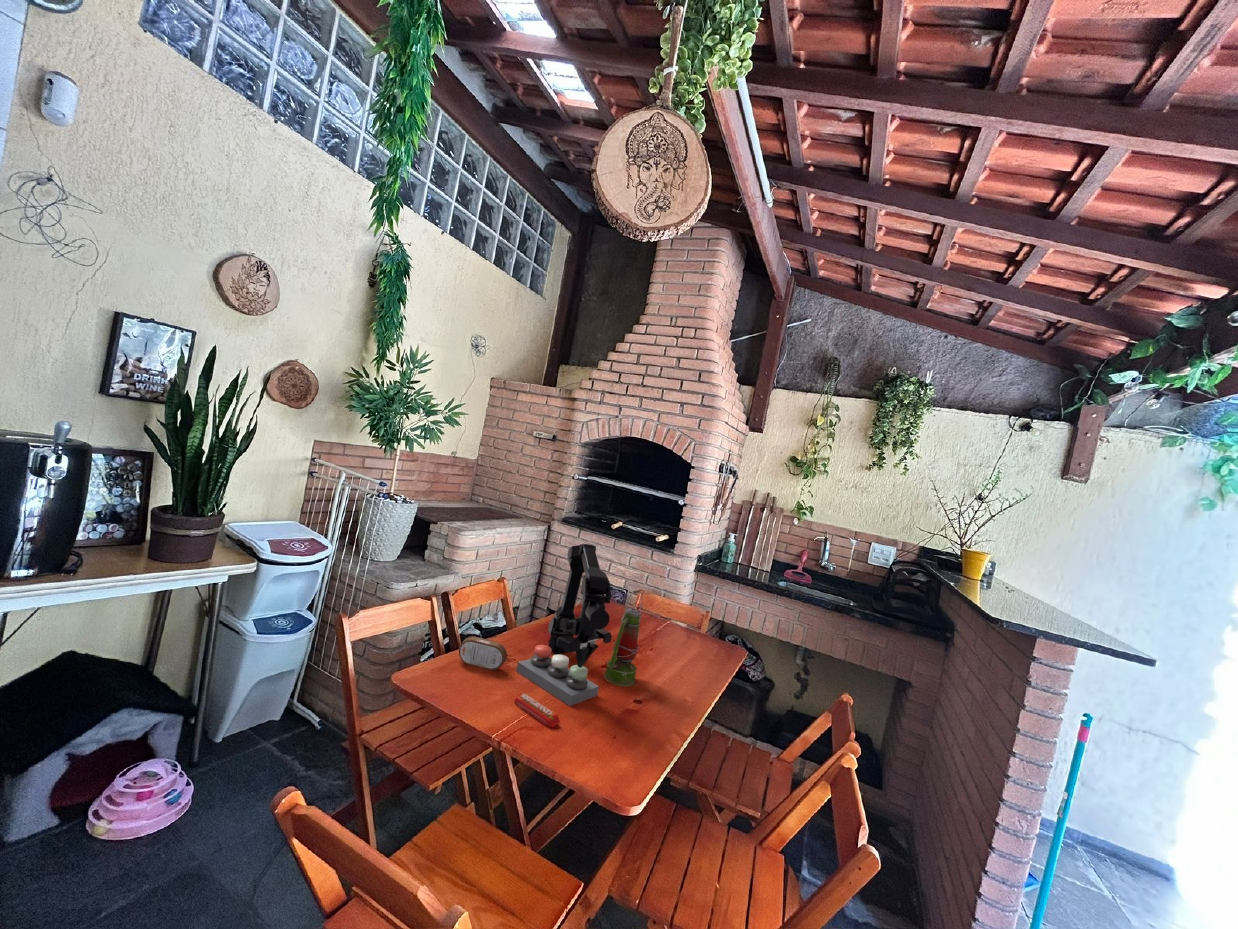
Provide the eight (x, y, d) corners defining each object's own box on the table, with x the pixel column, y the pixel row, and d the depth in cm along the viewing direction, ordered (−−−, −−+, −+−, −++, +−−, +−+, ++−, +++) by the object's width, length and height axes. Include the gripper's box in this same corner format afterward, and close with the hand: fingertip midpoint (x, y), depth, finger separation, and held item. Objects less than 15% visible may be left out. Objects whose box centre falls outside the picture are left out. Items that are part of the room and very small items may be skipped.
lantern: (619, 690, 165) (637, 598, 164) (594, 676, 172) (611, 587, 171) (644, 680, 176) (661, 593, 175) (619, 667, 183) (636, 584, 182)
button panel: (544, 663, 174) (546, 650, 174) (597, 695, 159) (600, 681, 159) (516, 671, 165) (518, 657, 164) (569, 706, 150) (572, 691, 149)
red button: (542, 649, 170) (543, 643, 170) (553, 656, 167) (554, 650, 167) (530, 652, 166) (532, 646, 166) (541, 659, 163) (543, 653, 163)
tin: (504, 670, 164) (509, 644, 164) (501, 674, 161) (506, 647, 161) (459, 659, 166) (464, 633, 165) (455, 662, 162) (460, 636, 162)
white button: (559, 659, 165) (560, 653, 165) (571, 666, 162) (572, 660, 162) (547, 662, 161) (549, 656, 161) (559, 669, 158) (560, 663, 158)
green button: (577, 670, 160) (579, 663, 160) (590, 677, 157) (591, 670, 157) (566, 673, 156) (567, 667, 156) (578, 681, 153) (579, 674, 153)
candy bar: (511, 703, 145) (513, 693, 145) (521, 700, 148) (523, 689, 148) (550, 731, 136) (553, 720, 135) (560, 727, 138) (562, 716, 138)
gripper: (590, 603, 168) (581, 650, 169) (548, 610, 154) (538, 662, 154) (616, 616, 162) (607, 665, 162) (575, 624, 147) (565, 678, 147)
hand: (579, 667), depth 157 cm, fingers closed
